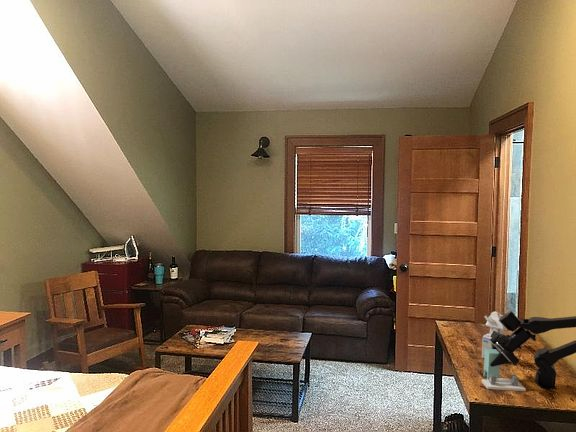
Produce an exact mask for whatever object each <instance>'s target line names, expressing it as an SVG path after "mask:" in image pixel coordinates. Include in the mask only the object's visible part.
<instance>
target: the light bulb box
mask: <svg viewBox="0 0 576 432" xmlns="http://www.w3.org/2000/svg"><path fill="white" fill-rule="evenodd" d="M490 336H491V334H489V333H486V334H484V335H482V342H481V345H482V346H481V358H482V359H485V349H492V345H491V343H492V342H491V341H490V339H491V338H492V337H490ZM492 344H493V343H492ZM501 353H503V352H501Z"/></svg>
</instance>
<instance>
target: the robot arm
mask: <svg viewBox="0 0 576 432" xmlns="http://www.w3.org/2000/svg"><path fill="white" fill-rule="evenodd" d="M502 315H503V316H501V318H500V319H499V322H500V323H501V324H502V325H503V326H504V327H505V328H506V329H507V331H508V332H512V333H511V334H504V333H503V334H500V333H498V332H496V331H493V333H492V334H491V336H490V337H492V338H491V339H490V341H491V342H492V343H493V344H492V343H491V345H492V349H496V350H497V351H498V352H499V355H498V356H497V358H496V359H495V360H494V361H493V362H492V363H491V364H490V365H491V367H493V366H498V365H500V366H501V365H502V366H503V365H507V364H513V365H514V366H517V364H519V360H520V359H519V358H518V357H517V356H516V355H515V353H514V352H515V351H517V350H518V349H519V350H521V349H522V346H523V345H524V344H525V343H526V342H528V341H529V340H530V339H531V340H532V341H534V342H536V341H537V340H536V335H539V334H543V333H546V332H549V331H552V330H559V329H571V328H576V315H573V316H566V317H565V316H564V317H554V318H549V317H542V316H532V317H531V316H530V318H519V317H518V316H517V315H516V314H515V313H514V312H513V310H510V311H508V312H507V313H504V314H502ZM506 329H505V330H506ZM501 352H503V353H501ZM574 354H576V339H575V340H572V341H570V342H568V343H565V344H562V345H560V346H558V347H555V348H548V346H547V345H546V346H543V347H542V348H539V349H537V351H536V352H534V354H533V360H534V361H533V362H534V364H535V366H536V367H537V368H536V372H535V376H534V377H535V378H534V381H533V382H534V383H535V384H537V386H538V387H540V388H542V389H555V390H556V389H558V387H557V386H556V378H557V371H556V367H555V364H556V363H557V362H559V361H560V360H562V359H564V358H566V357H569V356H572V355H574Z"/></svg>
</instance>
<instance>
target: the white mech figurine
mask: <svg viewBox="0 0 576 432" xmlns="http://www.w3.org/2000/svg"><path fill="white" fill-rule="evenodd" d="M503 315H504V314H501V313H499V311H492V312H490V315H489V316H488V315H484V316H483V317H484V318H485V320H486V323H485V326H486V327H488V328H490V329H489V333H488V334H492V333H493V331H496V332H498V333H500V334H503V335H504V331H505V330H506V328H505V327H504V326H503V325H502V324H501V323H500V322H499V319H500V318H501V317H502V316H503Z"/></svg>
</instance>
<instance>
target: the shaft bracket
mask: <svg viewBox="0 0 576 432" xmlns="http://www.w3.org/2000/svg"><path fill="white" fill-rule="evenodd" d="M481 383H482V384H483V385H484V387H485V388H486V389H487V390H495V391H496V390H497V391H500V390H502V391H513V392H514V391H515V392H517V391H518V392H526V391H527V389H526V387H524V385H522V383H521V382H520V381H519V377H518V375H516V374H511V378H504V377H503V378H502V377H499V378H496V376H495V375H494V374H489V380H487V378H486V379H484V378H483V379H481Z"/></svg>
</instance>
